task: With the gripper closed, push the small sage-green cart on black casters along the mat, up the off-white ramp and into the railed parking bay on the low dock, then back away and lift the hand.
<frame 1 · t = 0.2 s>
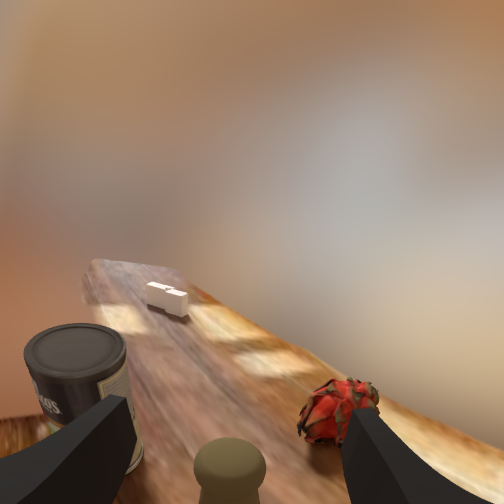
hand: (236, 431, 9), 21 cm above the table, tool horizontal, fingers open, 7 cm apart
coffee can: (102, 449, 28), on the table
dragon fruit: (332, 434, 34), on the table
napkin holder: (166, 312, 70), on the table
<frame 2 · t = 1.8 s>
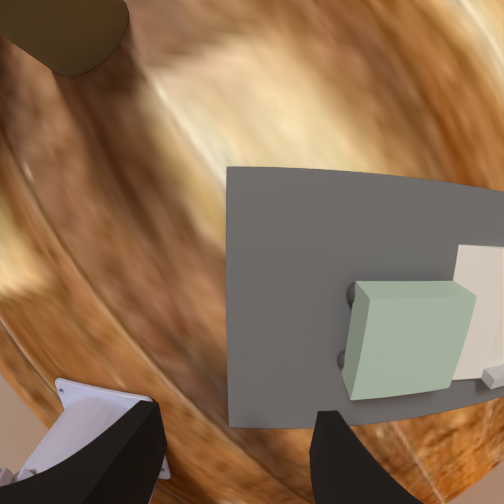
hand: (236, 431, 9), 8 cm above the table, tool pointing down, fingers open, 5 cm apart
cart: (394, 322, 16), resting on dock
dock: (454, 316, 16), on the table
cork: (86, 33, 13), on the table
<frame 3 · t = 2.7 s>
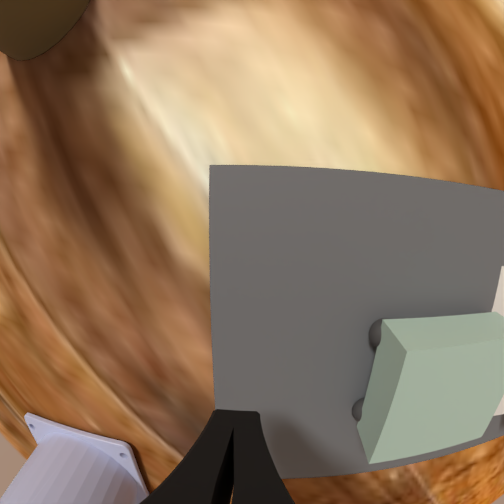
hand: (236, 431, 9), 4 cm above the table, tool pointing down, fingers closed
cart: (422, 362, 12), resting on dock
dock: (488, 349, 12), on the table
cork: (46, 10, 9), on the table
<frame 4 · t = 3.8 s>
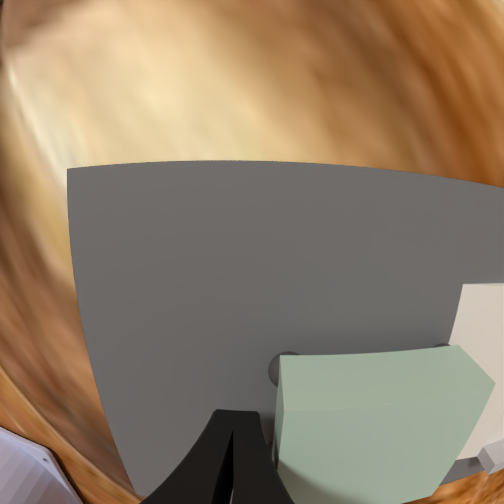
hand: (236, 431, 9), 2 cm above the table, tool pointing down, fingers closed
cart: (356, 403, 10), resting on dock, touching gripper
dock: (447, 386, 10), on the table
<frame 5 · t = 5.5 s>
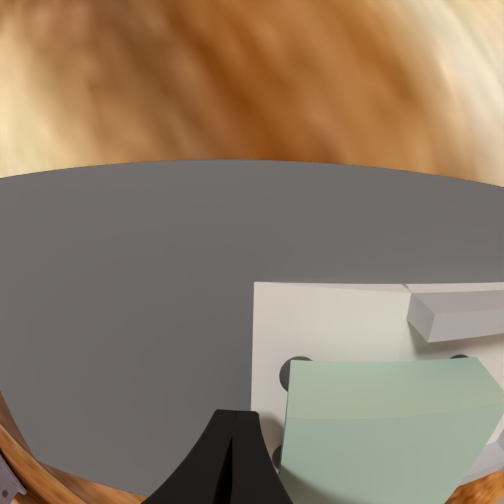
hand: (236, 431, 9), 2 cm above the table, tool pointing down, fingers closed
cart: (369, 411, 10), point 1 cm above the table, tilted 6°, touching gripper
dock: (279, 400, 10), on the table
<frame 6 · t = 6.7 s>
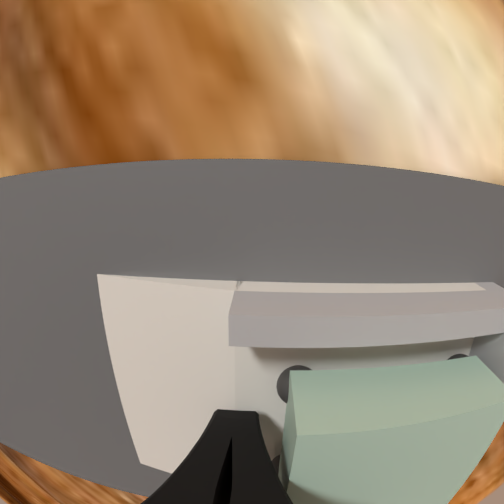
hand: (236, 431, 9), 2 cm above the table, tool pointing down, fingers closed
cart: (368, 416, 9), point 1 cm above the table, touching dock, gripper
dock: (144, 389, 11), on the table
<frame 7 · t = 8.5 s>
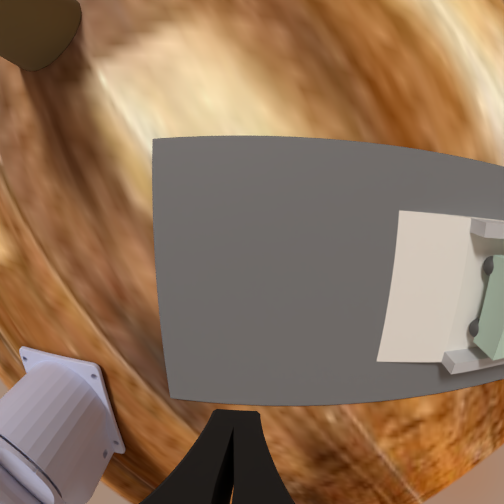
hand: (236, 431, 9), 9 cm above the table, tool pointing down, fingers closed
dock: (403, 290, 17), on the table
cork: (47, 33, 14), on the table
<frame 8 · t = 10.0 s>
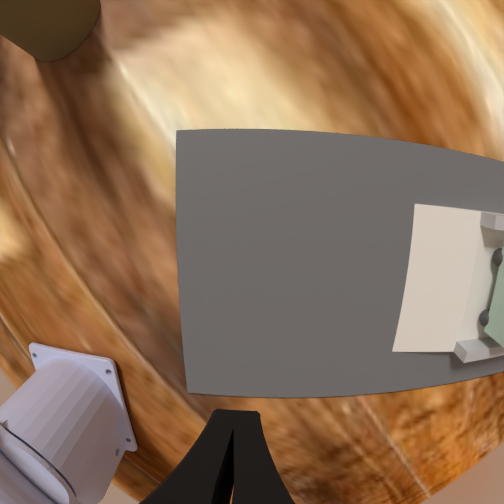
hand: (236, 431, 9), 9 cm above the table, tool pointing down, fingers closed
dock: (417, 281, 17), on the table
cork: (64, 24, 14), on the table
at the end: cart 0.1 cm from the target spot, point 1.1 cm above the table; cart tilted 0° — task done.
